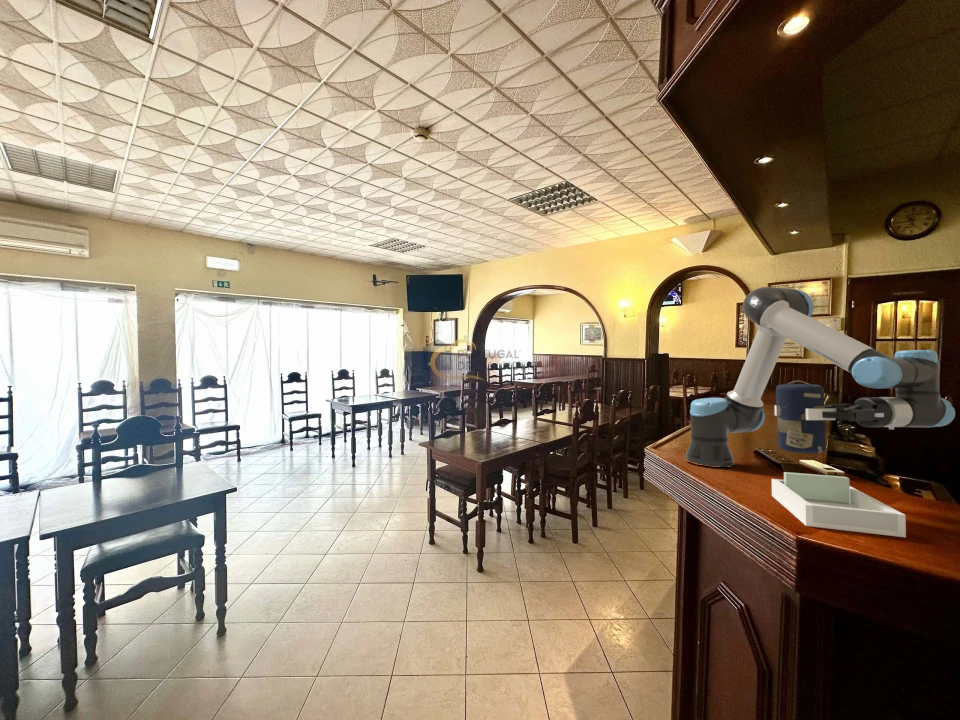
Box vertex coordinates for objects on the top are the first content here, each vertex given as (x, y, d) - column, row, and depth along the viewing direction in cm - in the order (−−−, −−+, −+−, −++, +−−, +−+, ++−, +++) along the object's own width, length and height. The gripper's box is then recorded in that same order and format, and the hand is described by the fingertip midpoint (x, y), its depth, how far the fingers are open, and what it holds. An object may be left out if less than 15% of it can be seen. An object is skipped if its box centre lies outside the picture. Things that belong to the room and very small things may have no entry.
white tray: (771, 495, 106) (771, 478, 106) (849, 503, 100) (848, 485, 100) (806, 525, 85) (805, 504, 85) (905, 537, 79) (905, 514, 80)
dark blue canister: (807, 448, 104) (804, 379, 104) (837, 455, 94) (834, 380, 95) (769, 448, 104) (766, 380, 105) (795, 455, 95) (792, 381, 95)
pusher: (784, 495, 102) (783, 472, 102) (846, 501, 98) (846, 476, 98) (786, 497, 101) (786, 473, 101) (849, 503, 96) (849, 478, 96)
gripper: (929, 433, 88) (829, 433, 88) (840, 421, 110) (760, 421, 110) (928, 400, 89) (828, 400, 89) (839, 395, 111) (759, 395, 111)
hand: (790, 412), depth 100 cm, fingers closed on dark blue canister, 9 cm apart
